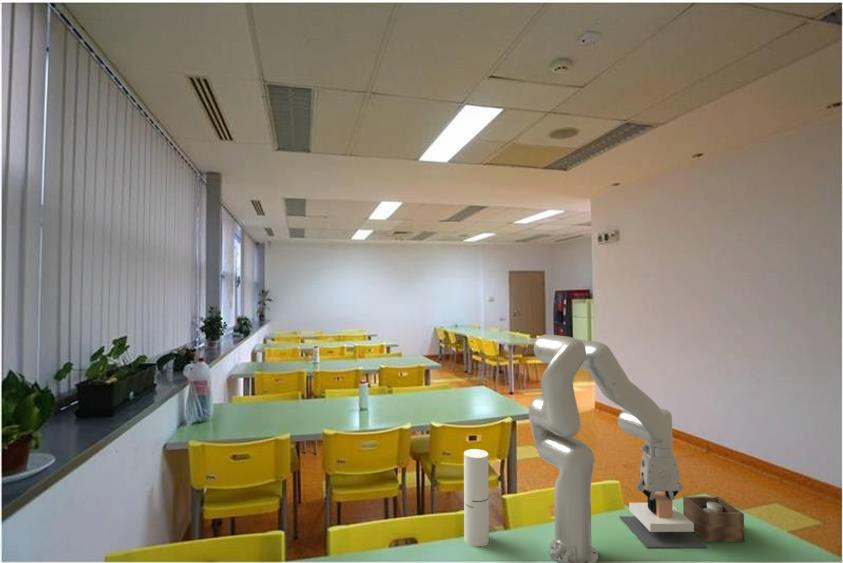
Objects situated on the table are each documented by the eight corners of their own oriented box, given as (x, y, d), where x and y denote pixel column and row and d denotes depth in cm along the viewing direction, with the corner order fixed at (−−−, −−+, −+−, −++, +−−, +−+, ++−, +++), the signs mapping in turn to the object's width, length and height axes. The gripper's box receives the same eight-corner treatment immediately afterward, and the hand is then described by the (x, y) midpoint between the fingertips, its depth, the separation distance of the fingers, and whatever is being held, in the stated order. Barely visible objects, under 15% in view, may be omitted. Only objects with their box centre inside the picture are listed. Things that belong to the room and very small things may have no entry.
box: (706, 541, 126) (706, 513, 127) (683, 522, 137) (683, 496, 138) (744, 541, 127) (743, 513, 127) (718, 522, 138) (717, 496, 138)
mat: (646, 548, 123) (646, 546, 123) (619, 517, 140) (619, 516, 140) (706, 547, 124) (706, 546, 124) (671, 517, 140) (671, 516, 140)
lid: (650, 531, 126) (649, 506, 126) (629, 510, 138) (628, 486, 139) (693, 531, 126) (693, 505, 126) (669, 509, 139) (668, 486, 139)
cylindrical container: (488, 548, 124) (487, 458, 124) (463, 545, 125) (462, 456, 126) (489, 534, 131) (488, 449, 131) (465, 531, 132) (465, 448, 133)
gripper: (637, 455, 129) (638, 518, 128) (693, 454, 129) (695, 517, 128) (625, 446, 136) (626, 505, 136) (678, 445, 137) (680, 505, 136)
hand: (660, 510), depth 132 cm, fingers closed on lid, 4 cm apart
